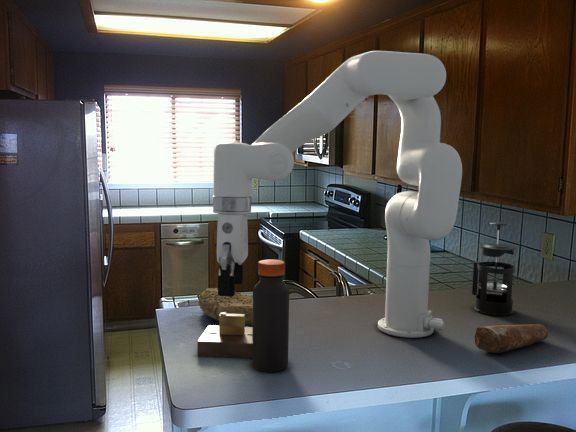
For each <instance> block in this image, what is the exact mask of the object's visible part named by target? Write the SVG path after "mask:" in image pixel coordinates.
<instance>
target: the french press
mask: <svg viewBox="0 0 576 432" xmlns="http://www.w3.org/2000/svg"><path fill="white" fill-rule="evenodd" d="M489 224H490V225H493V226H496V231H497V234H496V242H488V243H479V244H478V247H479V248H480V249H479V250H480V255H482V256H485V257H490V258H495V261H480V260H479V261H474V262H473V266H472V267H473V268H472V288H471V295H473V296H475V305H474V307H473V309H474V311H476V312H478V314H479V313H480V314H483V315H486V316H487V315H488V316H493V317H508V316H512V315H514V310H513V304H514V300H513V297H512V294H513V280H514V274H515V273H516V266H515V265H513V264H511V263H507V262H502V261H498V258H500V257H502V256H504V255H505V254H509V255H512V256H514V255H515V251H516V250H517V247H516V246H515V245H511V244H505V243H499V238H500V231H501V229H502V228H501V227H502V226H508V225H509V224H508V223H507V222H502V221H492V222H489ZM489 274H494V280H493V282H488V277H489V276H488V275H489ZM497 275H502V283H499V282H497ZM487 292H489V293H487Z"/></svg>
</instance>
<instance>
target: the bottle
mask: <svg viewBox="0 0 576 432" xmlns="http://www.w3.org/2000/svg"><path fill="white" fill-rule="evenodd" d="M285 269H286V262H285V261H284V260H281V259H273V258H271V259H262V260H258V262H257V274H258V276H257V277H259V281H258V282H257V283H256V284H255V285H254V286H253V288H252V298H253V325H252V327H253V335H252V358H251V362H252V363H251V365H252V367H253V368H254V369H255V370H257V371H260V372H264V373H276V372H281V371H283V370H285V369H286V368H287V367H288V365H289V336H290V333H289V328H290V287H289V285H288V284H286V283H285V282H284V277H285V273H286V271H285Z"/></svg>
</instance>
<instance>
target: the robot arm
mask: <svg viewBox="0 0 576 432" xmlns="http://www.w3.org/2000/svg"><path fill="white" fill-rule="evenodd" d="M446 81H447V71H446V67H445V65H444V64H443V62H442V60H440V58H438V57H437V56H435V55H431V54H428V53H417V52H401V51H391V50H389V51H387V50H371V51H367V52H363V53H360V54H357V55H354V56H351V57H349V58H348V59H346V60H345V61H344V62H343V63H341V64H340V65H339V66H338V67H337V68H336V69H335V70H334V71H333V72H332V73H331V74H330V75H329V76H327V77H326V78H325V80H323V81H322V82H321V83H320V84H319V85H318V86H316V88H315V89H313V91H311V92H310V94H308V95H306V97H304V99H302V100H301V102H298V103H297V104H296V105H295V106H294V107H293V108H291V110H289V111H288V112H287V113H286V114H284V115H283V116H282V117H280V118H279V119H278V120H277V121H275V122H274V123H273V124H272V125H271V126H269V127H268V128H267V129H266V130H265V131H263V132H262V134H261V135H259V136H258V138H256V140H255V141H253V142H252V143H251V144H248V143H246V142H231V141H230V142H227V141H226V142H219V143H217V144H215V146H214V148H213V186H212V187H213V189H212V190H213V191H212V193H213V195H212V213H214V214H217V224H216V225H217V226H216V227H217V229H216V261H217V263H218V264H219V266H218V275H217V289H218V295H219V296H234V295H235V292H236V285H242V284H243V282H244V278H243V277H244V265H243V263H244V262H245V261H246V259H247V258H248V256H249V237H248V236H249V233H248V231H249V229H248V228H249V226H248V214H252V188H253V187H252V185H253V184H252V183H253V179H255V180H264V181H269V182H276V181H281V180H284V179H285V178H287V177H288V176H289V175H291V173H292V172H293V169H294V166H295V159H294V155H293V153H294V152H295V151H297V150H298V149H299V148H300V147H302V146H304V145H305V144H306V143H308V142H312V141H313V140H315V139H318V138H320V137H323V136H324V135H327V134H328V133H329V132H331V131H333V130H334V129H336V128H337V126H338V125H339V124H340V123H342V121H343V120H344V119H346V118H347V116H349V115H350V114H351V113H352V112H353V111H354V110H355V109H356V108H357V107H358V106H359V105H360V104H361V103H362V102H363V101H364V100H365V99H366V98H368V97H369V96H370V97H371V96H375V95H382V96H383V95H385V96H388V97H389V99H391V101H393V103H394V104H395V106H396V107H397V109H398V111H399V114H400V115H399V116H400V118H401V119H400V121H401V125H400V137H399V143H398V144H399V145H398V153H397V161H396V174H397V177H398V178H399V179H400V180H401V181H402V182H403V183H406V184H407V185H411V186H416V187H418V191H411V190H406V191H401V192H400V191H399V192H397V193H395V195H393V196H392V197H391V198H390V199H389V200H388V202H387V203H386V206H385V212H384V220H385V221H384V223H385V229H386V238H387V256H386V258H387V260H386V281H385V306H384V317H383V318H380V319H379V320H378V321H377V328H378V330H379V331H381V332H383V334H384V333H385V334H387V335H390V336H394V337H399V338H409V339H417V338H425V337H429V336H431V335H432V334H433V333H434V332H435V330H439V331H442V332H443V331H445V329H446V321H444V319H443V318H437V317H434V316H433V310H429V291H430V273H431V271H430V270H431V259H432V257H431V256H432V255H431V254H432V253H431V245H430V241H439V240H442V239H444V238H446V237H447V236H448V235H450V233H451V232H452V230H453V229H454V226H455V223H456V220H457V216H458V208H459V203H460V202H459V201H460V194H461V187H462V179H463V163H462V159H461V157H460V154H459V152H458V151H457V150H456V149H455V147H453V146H452V145H450V144H447V143H445V142H441V129H442V115H441V110H440V107H439V105H438V103H437V101H436V99H435V97H434V96H435V95H437V94H438V93H439V92H440V91H441V90H443V87H444V86H445V85H446Z"/></svg>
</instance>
